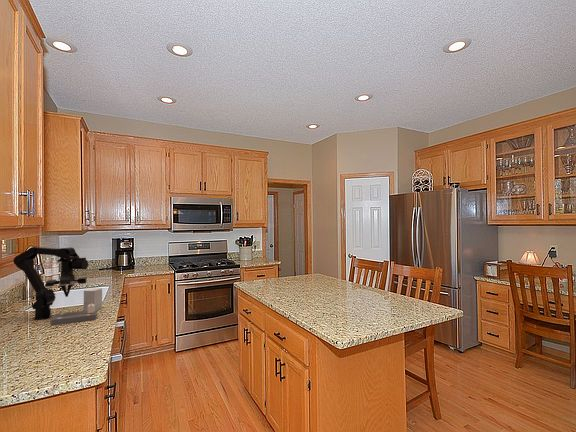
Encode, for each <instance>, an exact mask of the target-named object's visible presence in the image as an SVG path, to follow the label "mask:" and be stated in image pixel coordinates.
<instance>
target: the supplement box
mask: <svg viewBox="0 0 576 432" xmlns="http://www.w3.org/2000/svg"><path fill="white" fill-rule="evenodd" d="M91 303H92V304H95V310H97V311H98V310H101V309H103V288H94V287H93V288H92V287H91V288H89V289H85V290H83V311H88V305H89V304H91Z"/></svg>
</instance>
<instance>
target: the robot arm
mask: <svg viewBox="0 0 576 432" xmlns="http://www.w3.org/2000/svg"><path fill="white" fill-rule="evenodd" d="M38 255H45V256H46V255H48V256H55V257H57V258H59V259H58V260H56V261H57V263H60V276H59V280H57V279H48V280H47V281H46V282H45V284H44V282H43V280H42V279H41V277H40V275H39V274H38V272H37V269H35V261H34V260H35V259H36V258H37V257H38ZM12 262H13V264H14V265H15V266H16V267H17V268H18V269H19V270H21V271H23V273H24V275H25V276H26V278H27V280H28V282H29V283H30V285H31V286H32V288H33V290H34V292H35V300H36V301H35V302H33V304H31V308H32V309H33V310H34V318H33V320H34V321H38V320H45V319H49V318H50V317H51V316H52V308H51V306H53V304H54V302H55V300H56V295H57V294H56V293H55V292H54V290H53V289H52V288H50V289H49V288H47V287H53V286H54V285H58V288H61V289H62V291H63V294H64V296H65V298H68V297H69V295H70V292H71V288H72V287H74V286H75V285H76V283H78V284H81V285H82V284H87V281H88V278H87V277H86V276H85V277H83V276H82V277H78V278H77V279H76V277H75V274H74V270H87V269H88V267H89V262H88V259H87V258H86V257H80V256H79V255H78V253H77V252H76V249H75V248H74V247H63V248H62V247H61V248H55V247H41V246H32V247H30V248H29V247H28V249H26V250H25V251H23V252H22V253H20V254H18V255H16V256H15V257H14V258H13V260H12Z"/></svg>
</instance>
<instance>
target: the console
mask: <svg viewBox="0 0 576 432" xmlns="http://www.w3.org/2000/svg"><path fill="white" fill-rule="evenodd" d="M97 315H98V310H95V311H94V313H88V311H84V310H83V311H82V310H80V311H71V312H63V313H55V314H54V316H53V317H52V318H51V320H50V326H58V325H59V326H60V325H67V324H74V323H75V324H76V323H81V322H82V323H84V322H91V321H96V319H97Z"/></svg>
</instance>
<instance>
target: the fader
mask: <svg viewBox="0 0 576 432" xmlns="http://www.w3.org/2000/svg"><path fill="white" fill-rule="evenodd" d="M94 311H95V304H92V303H91V304H89V305H88V313H94Z"/></svg>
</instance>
